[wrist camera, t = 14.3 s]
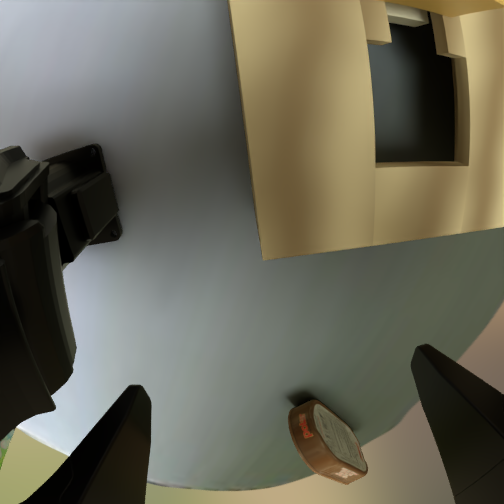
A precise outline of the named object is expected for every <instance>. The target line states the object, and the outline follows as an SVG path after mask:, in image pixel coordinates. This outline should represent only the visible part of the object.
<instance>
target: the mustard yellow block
mask: <svg viewBox="0 0 504 504" xmlns="http://www.w3.org/2000/svg"><path fill="white" fill-rule="evenodd" d="M378 1H384V2H385V6H386V11H387V16H388V22H389V23H395V24H401V25H406V26H411V27H417V26H421V25H424V24H428V23H429V20H428V15H427V11H430V12H434V13H437V14H441V15H444V16H448V17H456V16H460V15H465V14H470V13H475V12H481V11H486V10H493V9H499V8H504V0H378Z"/></svg>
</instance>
